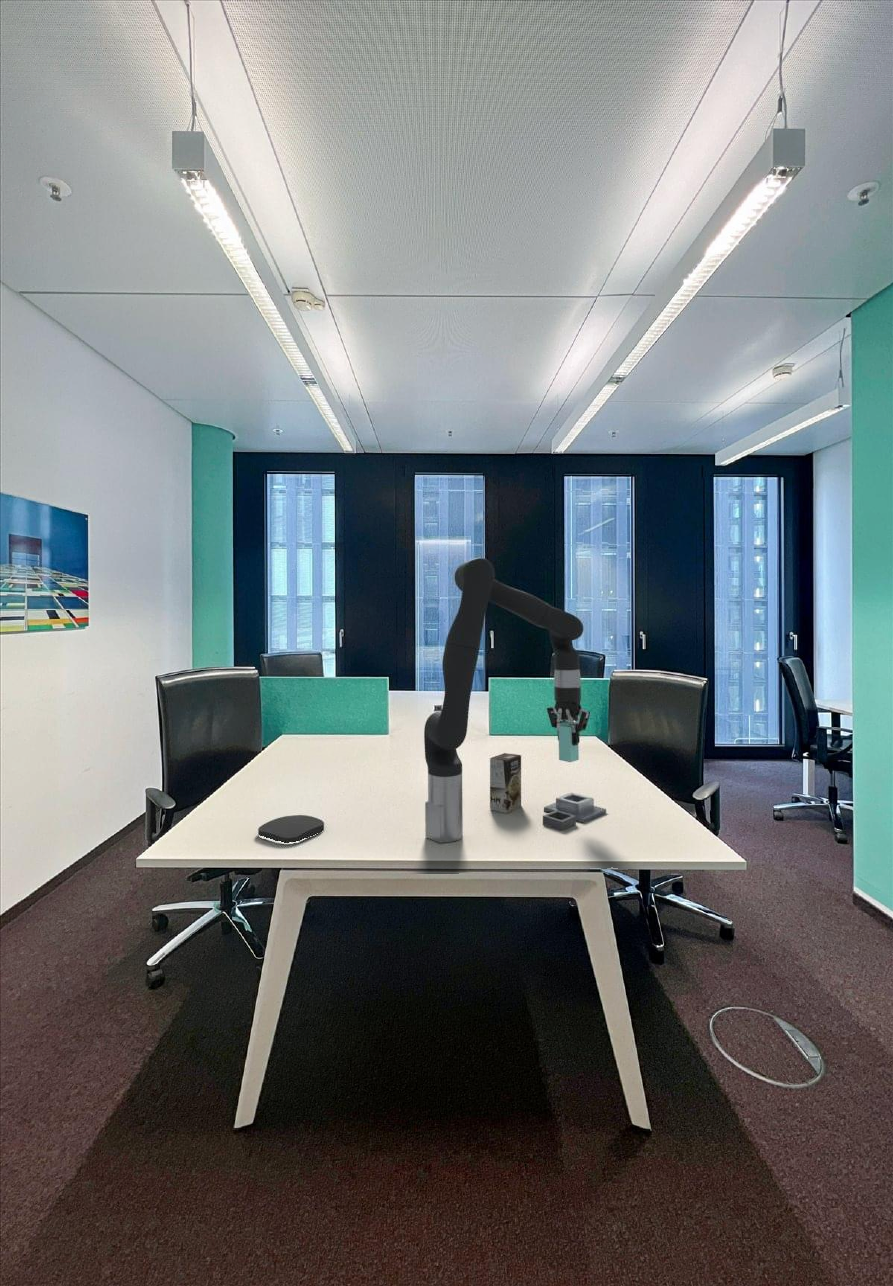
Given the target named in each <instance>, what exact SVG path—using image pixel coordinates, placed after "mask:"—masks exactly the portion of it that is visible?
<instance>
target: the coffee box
mask: <svg viewBox="0 0 893 1286" xmlns="http://www.w3.org/2000/svg"><path fill="white" fill-rule="evenodd" d="M520 807H522V755H521V754H517V753H505V752H504V753H501V754H498V755H495V756H492V757H489V810H491V811H494V812H499V813H504V814H508V813H511V812H512V811H514V810H516V809H518V808H520Z"/></svg>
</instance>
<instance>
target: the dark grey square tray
mask: <svg viewBox="0 0 893 1286" xmlns="http://www.w3.org/2000/svg"><path fill="white" fill-rule="evenodd" d="M542 825H543V826H547V827H549V828H552V829H556V830H558V831H561V832H563V831H565V830H567V829H570V828H571V827H574V826H577V821H576V816H574V815H571V814H567V813H564V812H561V811H557V810H556V811H554V812H551V813H549V812H548V813H546V814H543V815H542Z"/></svg>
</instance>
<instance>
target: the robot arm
mask: <svg viewBox="0 0 893 1286" xmlns="http://www.w3.org/2000/svg"><path fill="white" fill-rule="evenodd" d="M495 577H496V573H495V569H494V566H493V564H492V563H491V562H490V561H489V560H488V559H486V558H483V557H477V558H475V557H474V558H472V559H470V560H467V561H465V562H463V563H461V564H460V565H459V566H458V567H457V568H456V570H455V573H454V582H455V585H456V587H457V588H458V589H459V590H460V592H461V598H460V604H459V607H458V611H457V613H456V615H455V617H454V620H453V622H452V624H451V627H450V629H449V631H448V633H447V637H446V641H445V643H444V650H443V655H442V663H441V665H442V666H441V667H442V677H443V683H444V684H443V685H444V697H443V702H442V706H441V707H442V708H441V711H435V712H433V713H431V714H430V715H429V716H428V717H427V719H426V722H425V724H424V730H423V735H424V736H423V738H424V741H423V742H424V743H423V744H424V759H425V764H426V766H427V801H425V804H424V814H425V815H424V816H425V818H424V820H425V826H424V827H425V829H424V831H425V838H426V839H429V840H432V841H434V842H436V843H438V844H443V843H451V842H452V843H453V842H456V841H459V840H461V839H462V838H463V836H464V835H463V833H464V832H463V828H464V827H463V825H464V824H463V822H464V821H463V819H464V818H463V817H464V815H463V812H464V811H463V763H462V760H461V759H460V757H459V755H458V752H457V749H458V748H460V747H461V746H462V744H463V743H464V741H465V739H466V737H467V733H468V722H469V712H470V711H469V710H470V701H471V694H472V689H473V683H474V678H475V672H476V668H477V664H478V658H479V655H480V654H479V653H480V647H481V641H482V635H483V630H484V622H485V615H486V611H487V607H488V604H489V602H490V603H492V604H495V605H497V606H499V607H500V608H503V609H505V610H507V611H508V612H511V613H512V614H514V615H516V616H518V617H520V618H521V619H523V620H525V621H526V622H529V623H530V624H533V625H534V626H537V627H538V628H542V629H547V630H549V638H550V643H551V646H552V651H553V655H554V674H553V675H554V676H553V689H554V691H553V693H554V694H553V695H554V701H555V704H554V706H550V707H547V708H546V711H547V716H548V718H549V723H550V726H551V727H552V728H554V729H556V730H557V740H558V742H559V733H558V726H561V722H565V721H569V724H570V725H571V727H572V732H573V733H572V745H574V746H575V745H578V746H579V743H580V732H582V731H586V729H587V726H588V723H589V718H590V715H591V712H590V710H585V709H583V708H582V705H581V702H582V689H581V688H582V685H581V683H582V680H581V679H582V678H581V671H580V654H579V651H578V650H577V649H576V648H574V644H573V641H575V640H578V639H580V638H581V636H582V635H583V633H584V624H583V623H582V621H581V620H580V618H578V617H577V616H575V614H572V613H569V612H567V611H564V610H562V609H560V608H557V607H555V606H552V605H550V604H549V603H548V602H546V601H544V600H542V599H540V598H539V597H537V596H535V595H533V594H530V593H529V592H525V591H522V590H521V589H520V590H519V589H516V588H515V587H511V586H509V585H506V584H505V583H502V582H500V581H498V580H497V579H495ZM579 717H580V718H579Z"/></svg>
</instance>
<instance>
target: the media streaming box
mask: <svg viewBox="0 0 893 1286" xmlns="http://www.w3.org/2000/svg"><path fill="white" fill-rule="evenodd" d="M323 830H324V831H325V822H324V821H323V819H320V818H318V817H316V816H312V815H311V816H310V815H307V814H305V815H304V814H297V815H283V816H281V817H280V816H279V817H277V818H274V819H271V820H270V821H267V822H265V823H263V824H261V825H260V826H259V827H258V828H257V831H258V832H257V835H258V834H259V835H260V836H264V837H266V838H270V839H273V840H275V841H281V842H284V843H289V842H296V841H300V840H302V839H304V838H308V837H310V836H313V835H315V834H317V833H320V832H322V831H323ZM324 831H323V832H324ZM323 832H322V833H323ZM320 834H321V833H320Z"/></svg>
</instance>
